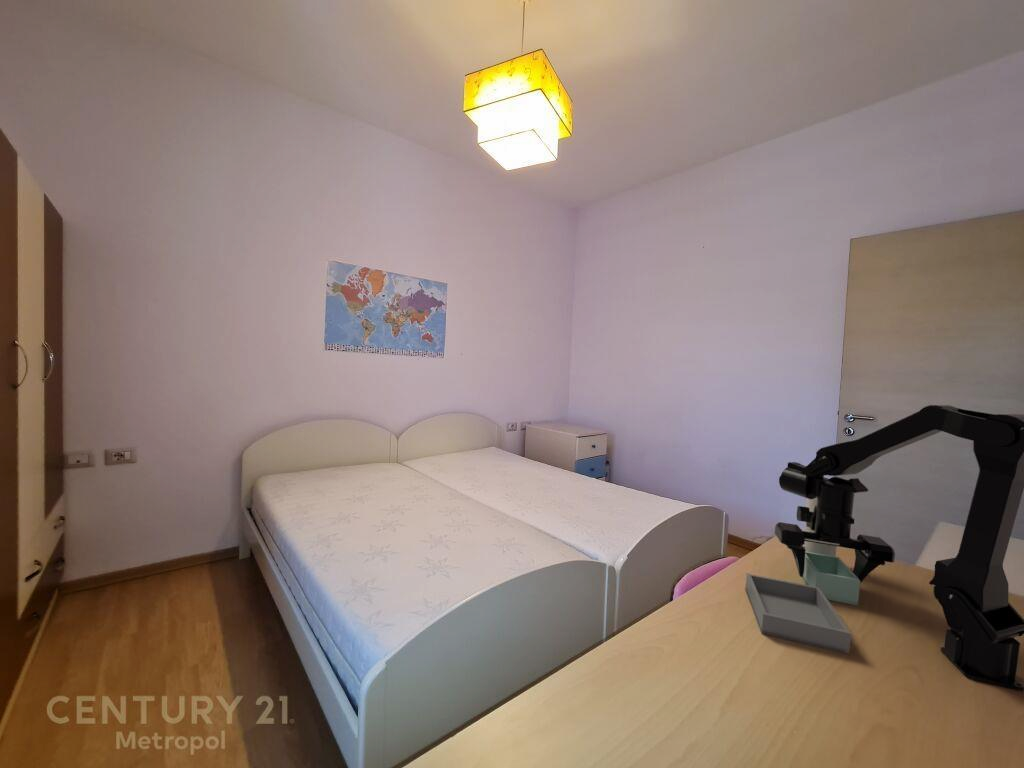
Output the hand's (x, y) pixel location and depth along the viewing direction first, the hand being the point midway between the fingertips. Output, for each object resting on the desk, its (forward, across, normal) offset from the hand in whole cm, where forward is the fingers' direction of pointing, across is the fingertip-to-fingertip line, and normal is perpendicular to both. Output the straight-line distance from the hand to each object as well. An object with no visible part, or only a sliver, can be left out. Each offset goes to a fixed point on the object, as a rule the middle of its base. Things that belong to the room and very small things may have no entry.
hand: (827, 581), depth 84 cm
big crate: (+2, +10, +15) cm, 18 cm away
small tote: (+2, 0, 0) cm, 2 cm away
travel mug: (+2, -2, -12) cm, 12 cm away
